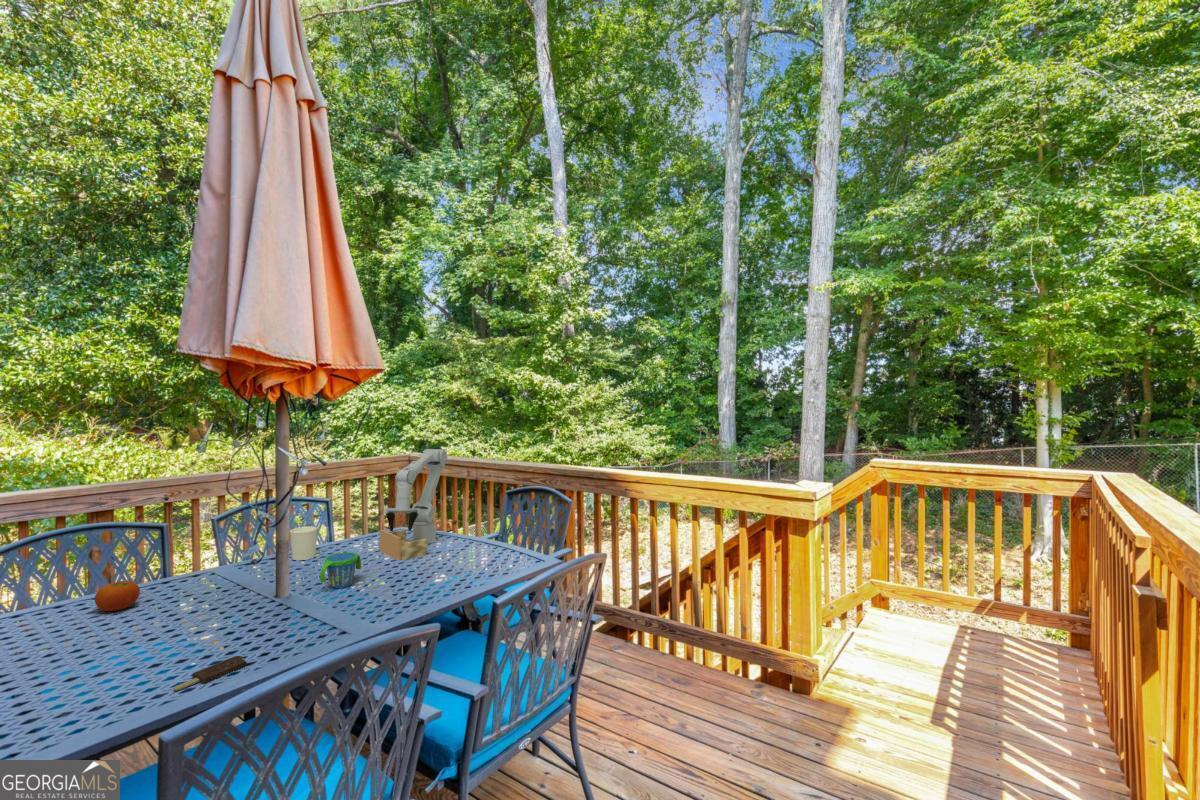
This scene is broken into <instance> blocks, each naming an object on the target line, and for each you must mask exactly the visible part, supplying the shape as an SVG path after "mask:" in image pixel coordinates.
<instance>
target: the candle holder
mask: <svg viewBox="0 0 1200 800" xmlns="http://www.w3.org/2000/svg"><path fill="white" fill-rule="evenodd" d="M289 533H290V549H291V550H290V553H291V560H292V559H294V560H305V559H310V558H313V557H315V558H316V551H317V537H318V527H317V526H308V525H307V526H298V527H296V528H295V527H294V528H292V529H289Z"/></svg>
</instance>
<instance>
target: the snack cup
mask: <svg viewBox="0 0 1200 800" xmlns="http://www.w3.org/2000/svg"><path fill="white" fill-rule="evenodd" d="M361 568H362V559H361V557H360V555H359V554H358V553H356V552H349V551H347V552H337V553H333V554H329V555H328V556H326V557H325V558H324V563H323V564H322V567H321V569H320V575H319V580H320V582H321V583H326V582H327V579H326V573H325V572H327V577H328V585H329V586H330V588H332V589H343V588H346V587H349V586H350V585H353V584H354V580H355V574H356V569H357V570H361Z"/></svg>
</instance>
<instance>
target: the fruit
mask: <svg viewBox="0 0 1200 800" xmlns="http://www.w3.org/2000/svg"><path fill="white" fill-rule="evenodd" d="M140 593H141V589H140V586H139V585H138V584H137V583H136V582H135V581H131V580H121V581H113V582H110V583H109V584H106V585H104V586H102V587H100V588H99V589H98V591H97V592H96V593H95V595H94V603H95V606H96V607H97V608H98V610H101V611H102V612H103V611H104V612H114V611H121V610H124V609H126V608H129V607H130V606H132V605H133V604H134V603H135V602H136V601H137V600H138V599H139V597H140Z"/></svg>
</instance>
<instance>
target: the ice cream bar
mask: <svg viewBox="0 0 1200 800" xmlns="http://www.w3.org/2000/svg"><path fill="white" fill-rule="evenodd" d="M245 666H246V667H247V666H248V661H246V659H245V657H243V656H242V655H236V656H235V655H233V656H232V657H230V658H227V659H225V660H222V661H220V662H216V663H214V664H212V665H209V666H207V667H205V668H202V669H200V670H198V671H195V672H192V677H191V678H192V679H190V680H188V681H185V682H182V683H180V684H178V685H175V686H173V689H172V690H173V691H176V692H177V691H181V690H183V689H186V688H189V687H190V686H192V685H195V684H197V683H200V684H202V685H206V684H208V683H210V682H213V681H215V679H216V680H218V679H220V678H222V677H221V676H223V677H224V675H225V676H227V675H229V674H228V673H230V674H232V673H234V672H233V671H235V672H236V670H237V671H239V670H242V669H243V667H244V668H246V667H245ZM241 668H242V669H241ZM238 669H239V670H238ZM231 672H232V673H231ZM226 674H227V675H226Z"/></svg>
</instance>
